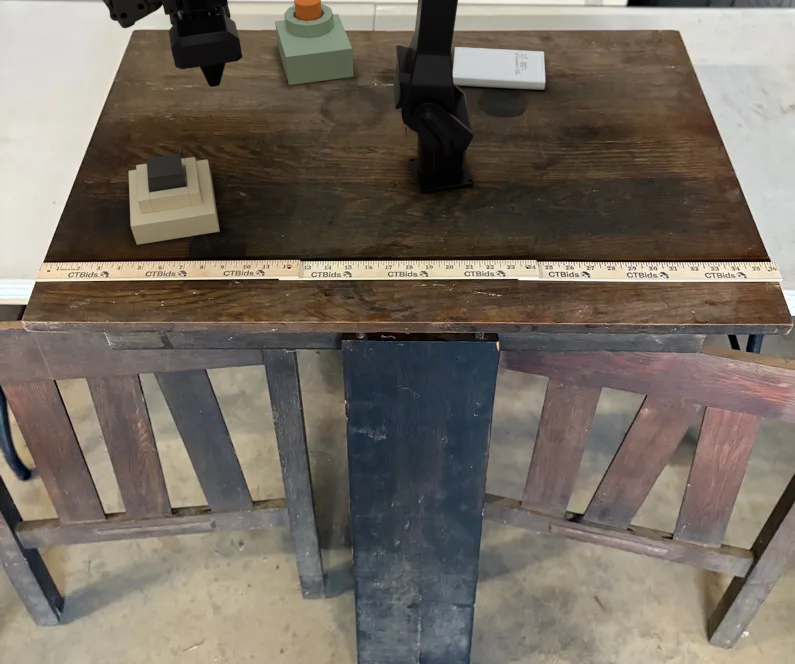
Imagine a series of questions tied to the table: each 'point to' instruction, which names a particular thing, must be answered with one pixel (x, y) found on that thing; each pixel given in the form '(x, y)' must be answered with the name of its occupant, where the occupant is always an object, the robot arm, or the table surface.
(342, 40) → the far pedestal
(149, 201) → the stepped pyramid pedestal
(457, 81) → the hard drive
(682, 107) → the table surface
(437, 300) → the table surface
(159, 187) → the near key
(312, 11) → the far key
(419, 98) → the robot arm
